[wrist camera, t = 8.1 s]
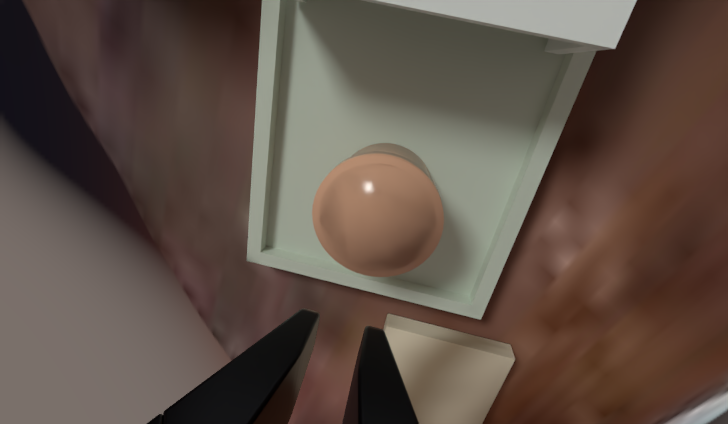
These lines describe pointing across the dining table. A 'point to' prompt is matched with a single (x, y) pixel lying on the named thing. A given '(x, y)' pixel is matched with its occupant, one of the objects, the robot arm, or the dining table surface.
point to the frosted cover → (537, 19)
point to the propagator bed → (404, 134)
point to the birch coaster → (447, 370)
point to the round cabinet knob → (379, 211)
